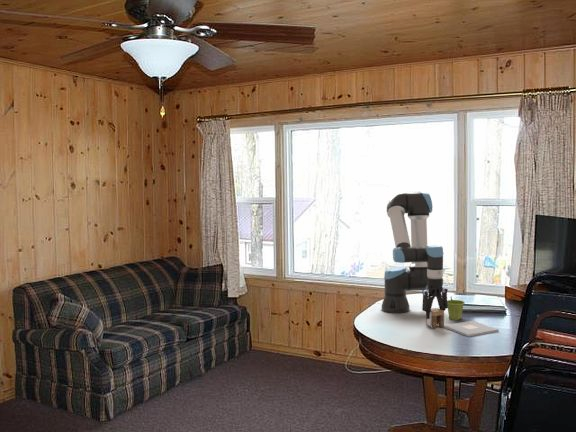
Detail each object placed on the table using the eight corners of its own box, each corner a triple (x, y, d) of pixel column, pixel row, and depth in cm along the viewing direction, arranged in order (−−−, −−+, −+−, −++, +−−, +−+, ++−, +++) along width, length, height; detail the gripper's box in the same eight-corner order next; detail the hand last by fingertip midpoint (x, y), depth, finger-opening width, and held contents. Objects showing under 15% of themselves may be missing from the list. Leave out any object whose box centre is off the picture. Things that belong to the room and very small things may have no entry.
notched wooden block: (426, 325, 281) (426, 309, 280) (436, 323, 283) (436, 307, 282) (433, 328, 275) (433, 312, 275) (443, 326, 278) (444, 310, 277)
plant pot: (465, 321, 288) (465, 304, 288) (446, 320, 290) (446, 303, 290) (463, 316, 298) (463, 300, 297) (445, 315, 299) (445, 299, 299)
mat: (442, 327, 278) (442, 325, 278) (471, 322, 286) (471, 320, 286) (468, 336, 262) (468, 334, 262) (498, 331, 269) (498, 329, 269)
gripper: (423, 280, 270) (423, 328, 272) (455, 276, 277) (455, 323, 280) (414, 278, 277) (414, 324, 279) (445, 274, 284) (445, 319, 286)
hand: (434, 324), depth 279 cm, fingers closed on notched wooden block, 6 cm apart
